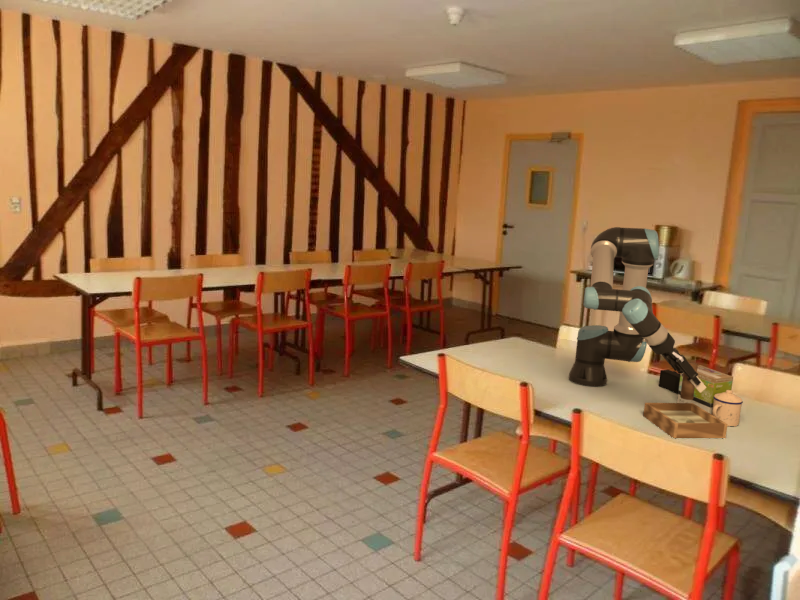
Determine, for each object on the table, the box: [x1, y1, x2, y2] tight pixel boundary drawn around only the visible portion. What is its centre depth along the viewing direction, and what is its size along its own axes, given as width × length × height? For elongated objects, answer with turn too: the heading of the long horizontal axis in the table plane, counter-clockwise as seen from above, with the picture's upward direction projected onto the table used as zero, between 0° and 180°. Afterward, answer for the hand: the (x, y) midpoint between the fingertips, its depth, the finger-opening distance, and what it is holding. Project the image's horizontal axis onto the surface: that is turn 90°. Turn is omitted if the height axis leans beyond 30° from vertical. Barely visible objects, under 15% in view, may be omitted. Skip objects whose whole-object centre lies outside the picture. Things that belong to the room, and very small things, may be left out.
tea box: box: [676, 364, 734, 415], centre depth 230 cm, size 15×10×15 cm
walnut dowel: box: [680, 361, 699, 400], centre depth 209 cm, size 4×4×12 cm
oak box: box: [642, 402, 728, 439], centre depth 211 cm, size 20×18×5 cm
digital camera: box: [658, 369, 681, 395], centre depth 253 cm, size 10×5×7 cm, turn 22°
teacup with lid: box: [712, 389, 744, 427], centre depth 217 cm, size 12×9×12 cm
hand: (698, 387), depth 209 cm, fingers closed on walnut dowel, 4 cm apart
